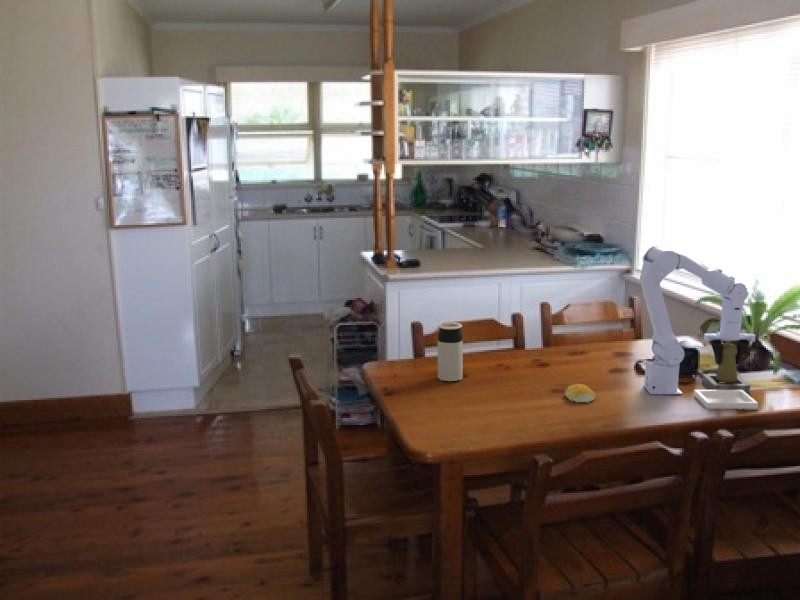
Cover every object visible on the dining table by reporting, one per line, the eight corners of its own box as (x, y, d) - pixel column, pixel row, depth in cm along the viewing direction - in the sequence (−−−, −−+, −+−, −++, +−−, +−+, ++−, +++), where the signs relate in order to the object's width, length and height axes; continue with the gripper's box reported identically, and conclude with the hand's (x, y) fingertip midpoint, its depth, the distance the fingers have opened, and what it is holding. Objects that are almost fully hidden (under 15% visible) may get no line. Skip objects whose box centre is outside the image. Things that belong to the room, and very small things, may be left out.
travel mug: (459, 384, 237) (459, 329, 233) (434, 381, 239) (434, 327, 235) (465, 376, 244) (465, 322, 240) (441, 373, 247) (441, 321, 243)
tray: (707, 409, 213) (707, 403, 212) (693, 396, 223) (694, 389, 223) (757, 409, 212) (758, 403, 212) (741, 396, 223) (742, 389, 222)
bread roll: (587, 392, 229) (587, 379, 228) (598, 402, 220) (598, 389, 219) (560, 393, 228) (561, 381, 227) (570, 404, 219) (571, 391, 218)
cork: (739, 382, 226) (741, 347, 224) (718, 381, 227) (720, 347, 225) (734, 375, 232) (736, 341, 229) (714, 375, 233) (715, 341, 230)
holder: (714, 393, 225) (714, 385, 225) (701, 381, 235) (702, 374, 235) (749, 393, 225) (750, 385, 224) (735, 381, 235) (736, 374, 234)
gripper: (750, 317, 229) (745, 359, 232) (701, 317, 229) (698, 359, 233) (760, 322, 222) (755, 366, 225) (710, 323, 223) (706, 366, 226)
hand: (727, 363), depth 228 cm, fingers closed on cork, 5 cm apart
